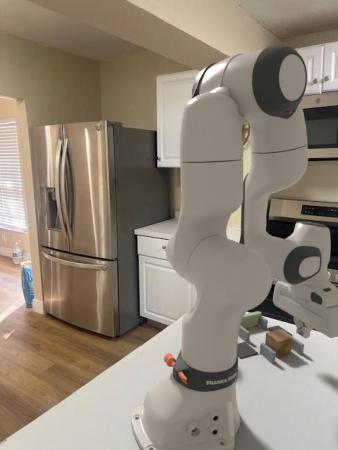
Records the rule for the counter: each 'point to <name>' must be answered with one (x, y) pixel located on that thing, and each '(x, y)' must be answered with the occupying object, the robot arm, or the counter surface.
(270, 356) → the rail lane
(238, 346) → the mats
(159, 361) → the counter surface
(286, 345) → the walnut block
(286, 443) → the counter surface
